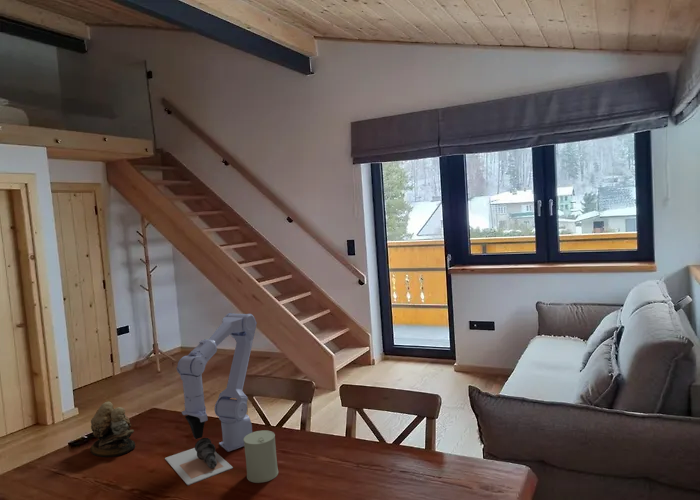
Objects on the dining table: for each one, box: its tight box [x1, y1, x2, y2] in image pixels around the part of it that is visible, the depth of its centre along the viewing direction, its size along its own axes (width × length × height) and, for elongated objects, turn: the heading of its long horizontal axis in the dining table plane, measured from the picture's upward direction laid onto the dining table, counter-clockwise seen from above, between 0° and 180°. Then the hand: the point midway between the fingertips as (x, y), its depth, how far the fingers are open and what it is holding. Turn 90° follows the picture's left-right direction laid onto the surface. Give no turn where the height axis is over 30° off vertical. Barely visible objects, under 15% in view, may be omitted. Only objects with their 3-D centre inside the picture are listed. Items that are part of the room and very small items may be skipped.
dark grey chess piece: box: [194, 437, 217, 468], centre depth 160 cm, size 6×6×12 cm
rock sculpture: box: [89, 401, 136, 458], centre depth 177 cm, size 18×12×17 cm, turn 67°
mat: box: [164, 447, 234, 486], centre depth 162 cm, size 14×22×1 cm, turn 36°
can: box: [243, 429, 279, 484], centre depth 151 cm, size 9×9×12 cm
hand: (198, 437), depth 159 cm, fingers closed
